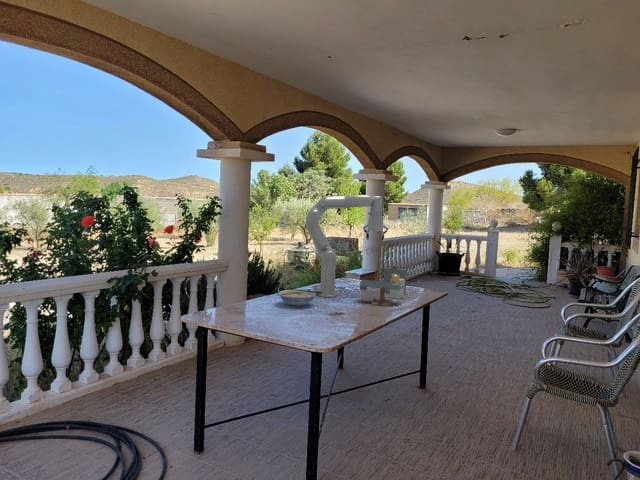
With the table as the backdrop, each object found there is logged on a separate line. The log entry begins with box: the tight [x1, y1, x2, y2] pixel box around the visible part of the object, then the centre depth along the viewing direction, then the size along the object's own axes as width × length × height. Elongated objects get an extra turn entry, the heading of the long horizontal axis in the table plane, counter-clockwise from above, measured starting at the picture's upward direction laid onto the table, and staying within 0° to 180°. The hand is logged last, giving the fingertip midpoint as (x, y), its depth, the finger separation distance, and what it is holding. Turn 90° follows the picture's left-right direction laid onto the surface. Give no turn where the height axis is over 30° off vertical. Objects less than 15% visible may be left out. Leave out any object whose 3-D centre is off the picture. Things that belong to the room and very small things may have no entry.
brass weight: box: [391, 274, 400, 285], centre depth 290 cm, size 5×5×7 cm
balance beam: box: [359, 279, 401, 291], centre depth 292 cm, size 25×10×5 cm, turn 80°
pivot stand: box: [371, 287, 393, 308], centre depth 292 cm, size 12×18×11 cm, turn 170°
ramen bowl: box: [278, 288, 322, 307], centre depth 279 cm, size 25×23×8 cm
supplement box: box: [389, 279, 405, 300], centre depth 311 cm, size 7×7×13 cm
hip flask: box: [383, 264, 408, 295], centre depth 326 cm, size 16×4×20 cm, turn 69°
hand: (375, 239), depth 311 cm, fingers open, 9 cm apart
